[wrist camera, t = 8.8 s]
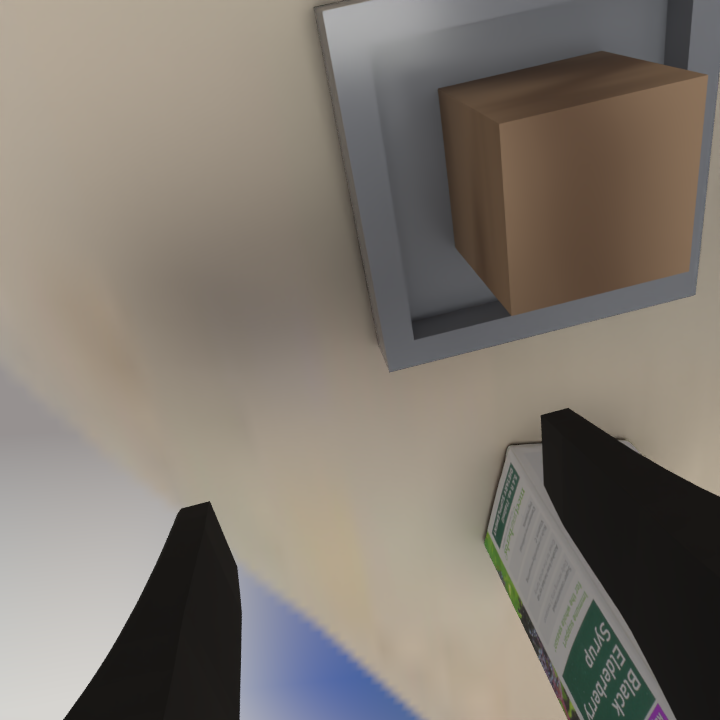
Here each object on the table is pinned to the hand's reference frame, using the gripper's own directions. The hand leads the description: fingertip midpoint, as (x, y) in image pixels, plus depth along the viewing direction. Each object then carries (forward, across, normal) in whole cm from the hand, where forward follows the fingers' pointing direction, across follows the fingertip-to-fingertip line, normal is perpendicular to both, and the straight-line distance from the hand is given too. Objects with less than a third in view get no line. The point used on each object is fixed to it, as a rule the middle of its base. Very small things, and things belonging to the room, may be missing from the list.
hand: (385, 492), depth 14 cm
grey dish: (+10, -7, -3) cm, 12 cm away
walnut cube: (+9, -7, -3) cm, 12 cm away
